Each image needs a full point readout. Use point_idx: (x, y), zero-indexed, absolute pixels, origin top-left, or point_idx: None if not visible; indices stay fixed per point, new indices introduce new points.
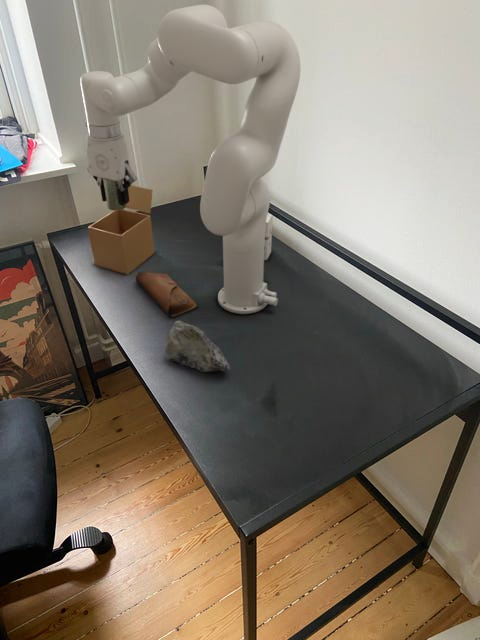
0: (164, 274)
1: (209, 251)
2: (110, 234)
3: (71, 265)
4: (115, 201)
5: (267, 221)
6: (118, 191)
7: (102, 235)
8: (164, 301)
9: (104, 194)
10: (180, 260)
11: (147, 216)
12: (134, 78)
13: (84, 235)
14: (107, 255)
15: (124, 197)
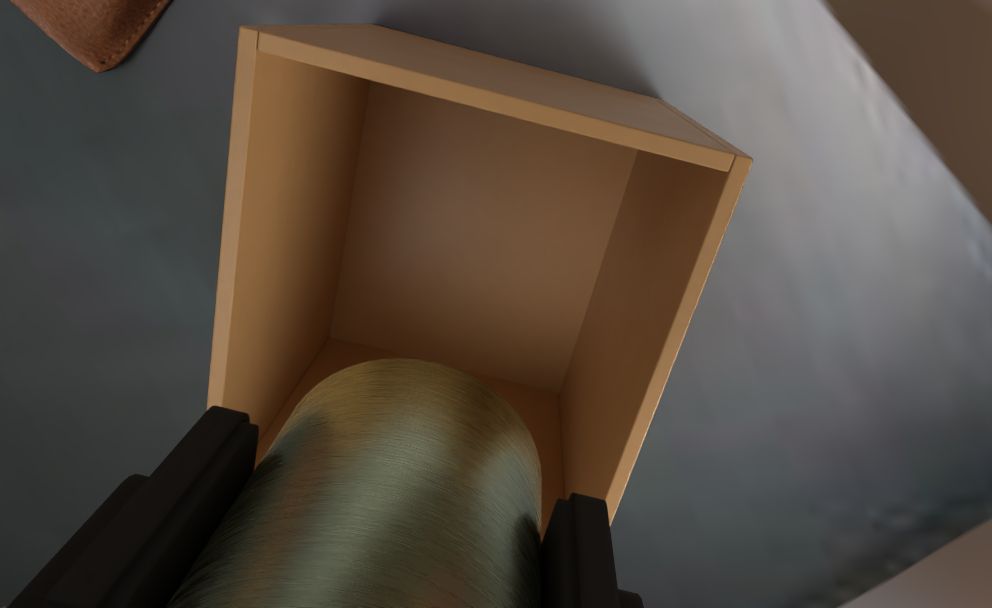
0: (36, 1)
1: (15, 410)
2: (410, 67)
3: (848, 53)
4: (303, 447)
5: None
6: (88, 598)
7: (537, 94)
8: None
9: (558, 593)
10: (120, 281)
11: None
12: None
13: (876, 457)
14: (524, 72)
15: (99, 523)
